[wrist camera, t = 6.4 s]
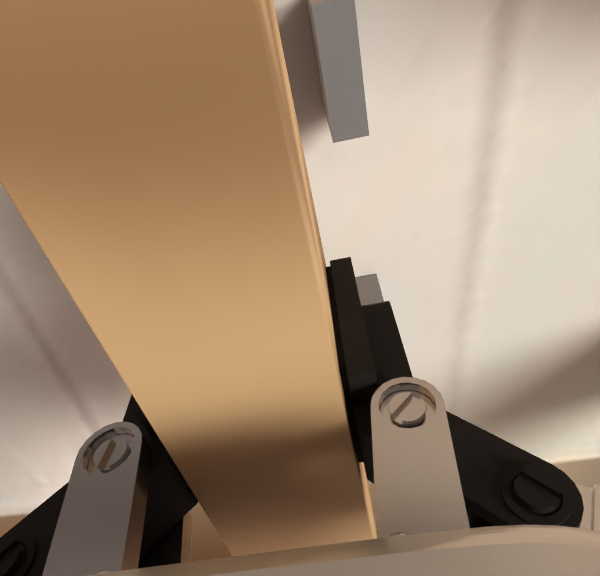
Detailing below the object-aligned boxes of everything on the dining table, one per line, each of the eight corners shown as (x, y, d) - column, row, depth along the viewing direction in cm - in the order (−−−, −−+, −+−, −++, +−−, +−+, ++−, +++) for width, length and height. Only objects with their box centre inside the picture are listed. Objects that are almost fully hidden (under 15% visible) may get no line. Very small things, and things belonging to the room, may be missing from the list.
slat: (87, -14, 8) (-102, 18, 4) (261, -58, 8) (238, -69, 4) (282, 478, 18) (282, 636, 14) (365, 466, 17) (391, 624, 13)
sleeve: (139, 33, 16) (110, 52, 14) (340, -15, 16) (353, -6, 13) (179, 142, 19) (161, 178, 16) (355, 105, 18) (369, 135, 15)
